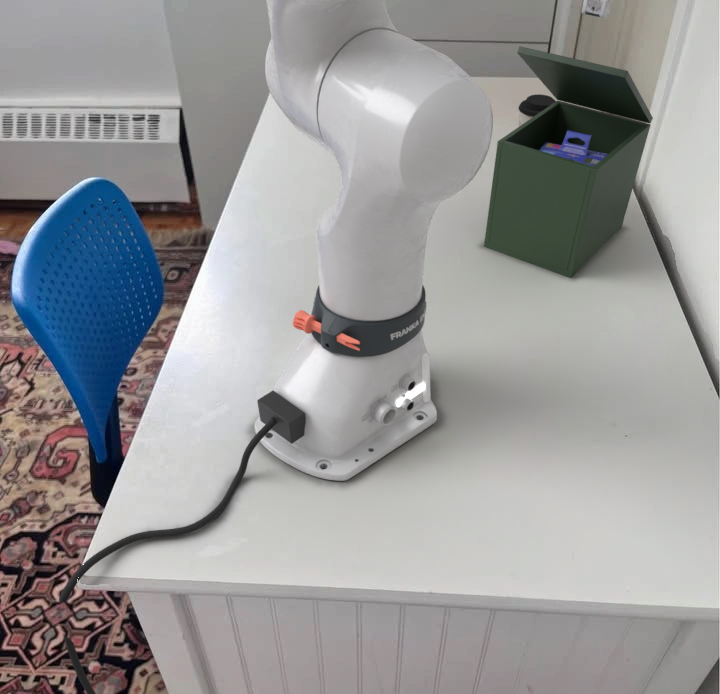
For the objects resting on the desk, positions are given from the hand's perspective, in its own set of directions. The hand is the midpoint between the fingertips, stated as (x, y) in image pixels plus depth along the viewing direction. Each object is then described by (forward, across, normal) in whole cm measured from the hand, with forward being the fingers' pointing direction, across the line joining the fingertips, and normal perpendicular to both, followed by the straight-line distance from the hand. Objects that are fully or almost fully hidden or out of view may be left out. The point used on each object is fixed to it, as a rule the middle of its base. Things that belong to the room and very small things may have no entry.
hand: (594, 15), depth 88 cm
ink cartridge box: (+30, 0, +2) cm, 30 cm away
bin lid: (+9, 0, +3) cm, 10 cm away
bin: (+30, 0, +2) cm, 30 cm away
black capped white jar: (+30, -16, +24) cm, 42 cm away
